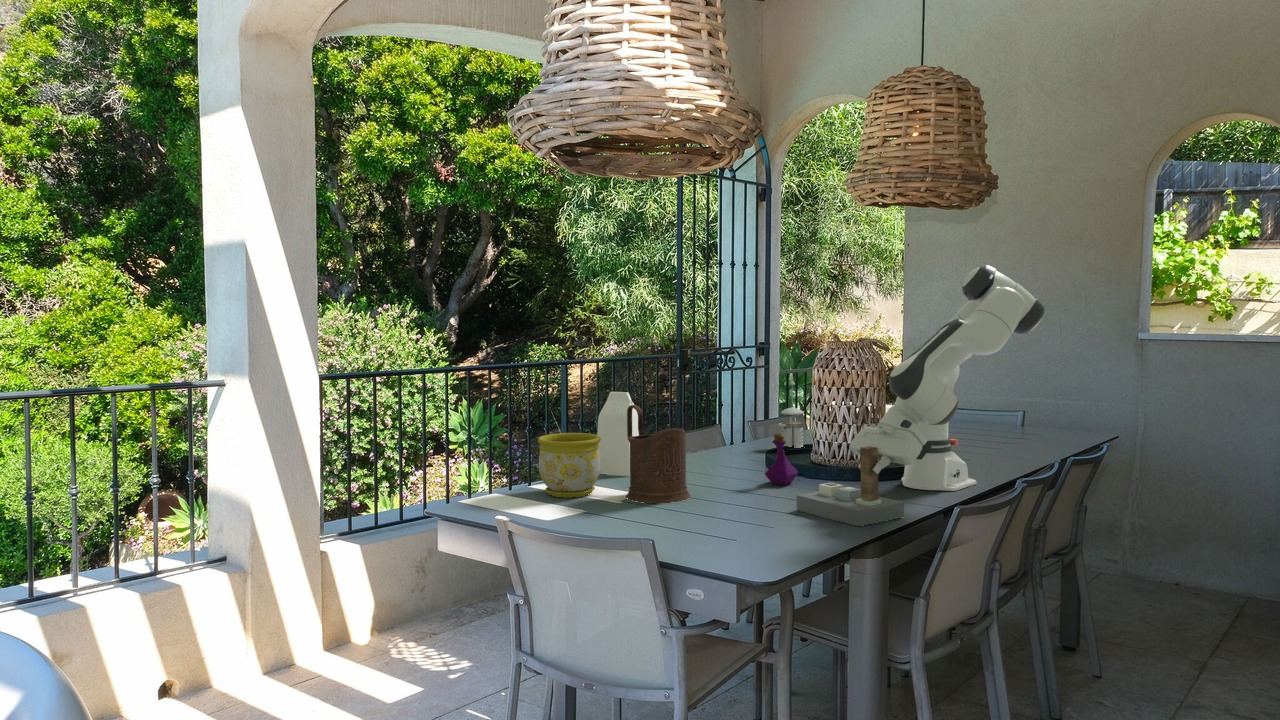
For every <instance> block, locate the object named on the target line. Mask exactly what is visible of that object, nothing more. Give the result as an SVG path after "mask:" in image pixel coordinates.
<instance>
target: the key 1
mask: <svg viewBox="0 0 1280 720" xmlns="http://www.w3.org/2000/svg"><path fill="white" fill-rule="evenodd" d="M838 488H844V485H843V484H840V483H835V482H827V483H821V484H818V491H819V494H820V495H824V496H828V497H835V496H837V489H838Z"/></svg>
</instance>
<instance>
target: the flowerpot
mask: <svg viewBox="0 0 1280 720" xmlns="http://www.w3.org/2000/svg"><path fill="white" fill-rule="evenodd" d="M600 440H601V438H600V436H598V435H597V434H594V433H588V432H587V433H586V432H585V433H584V432H562V433H561V432H560V433H553V434H546V435H541V436H539V437H538V438H537V442H538V444H539V456H538V471H539V474H540V478H541V480H542V482H543V483H544V485H545V486H546V487H545V491H546V492H547V493H548V495H549V496H550V495H552V496H551V497H553V496H555V498H559V497H563V499H574V498H573V497H576V498H582V497H581V496H583V497H586V496H585V495H587V496H589V495H588V494H590V493H591V494H593V491H594V490H596V487H595V486H594V485H595V484H596V482H597V481H598V479H599V476H600V474H599V473H600V466H601V462H600V453H599V447H600V446H599V442H600ZM591 494H590V495H591Z"/></svg>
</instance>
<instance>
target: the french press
mask: <svg viewBox="0 0 1280 720" xmlns="http://www.w3.org/2000/svg"><path fill="white" fill-rule="evenodd" d="M789 385H790V386H791V407H789V408H788V407H787V408H785V409H783V410H781V412H780V413H781V415H787V416H789V415H790V416H791V417H790V419H789V420H790V421H783V422H781V424H785V425H787V429H786V430H784V429H782V430H781V431H780V432H781V434H780V435H782V436H784V440H785V441H786V443H785V444H784V446H788V447H792V445H794V448H801V447H804V442H803V441H804V439H803V438H804V436H803V435H804V432H803V431H804V427H803V426H801V425H803V423H802V422H801V421H797V419H796V416H795V415H803V414H804V412H803V410H801V409H799V408H796V407H793V403H794V401H793V393H794V392H793V390H794V389H793V386H794V385H796V382H795V381H790V382H789ZM793 415H794V416H795V417H794V419H793Z"/></svg>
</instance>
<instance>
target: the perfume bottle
mask: <svg viewBox="0 0 1280 720" xmlns="http://www.w3.org/2000/svg"><path fill="white" fill-rule="evenodd" d="M787 426H788V425H785V424H782V423H779V424H777V425H776V427H777V430H778V434H776V433H775V434H774V435H773V437H774V440H772V444H774V445H775V447H776V451H777V453H776V459H775V461H774V462H773V463H772V465H771V466H770V467H769V468H768V469H767V470H766V471H765V472H764V475H765V477H766V478H767V479H768V480H769V482H770V483H771V484H772V485H775V486H788V485H790V484H792V483H793V481H794V480H795V478H796V477H797V475H799V471H798V470H797V469H796V468H795V467H794V466H793V465H792V464H791V463H790V461H789V460H788V458H787V457H786V453H785V451H784V450H783V446H784V444H785V443H786V441H785V439H784V437H785V436H782V434H780V432H782V431H781V430H782V429H784V430H786V429H787Z"/></svg>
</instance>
